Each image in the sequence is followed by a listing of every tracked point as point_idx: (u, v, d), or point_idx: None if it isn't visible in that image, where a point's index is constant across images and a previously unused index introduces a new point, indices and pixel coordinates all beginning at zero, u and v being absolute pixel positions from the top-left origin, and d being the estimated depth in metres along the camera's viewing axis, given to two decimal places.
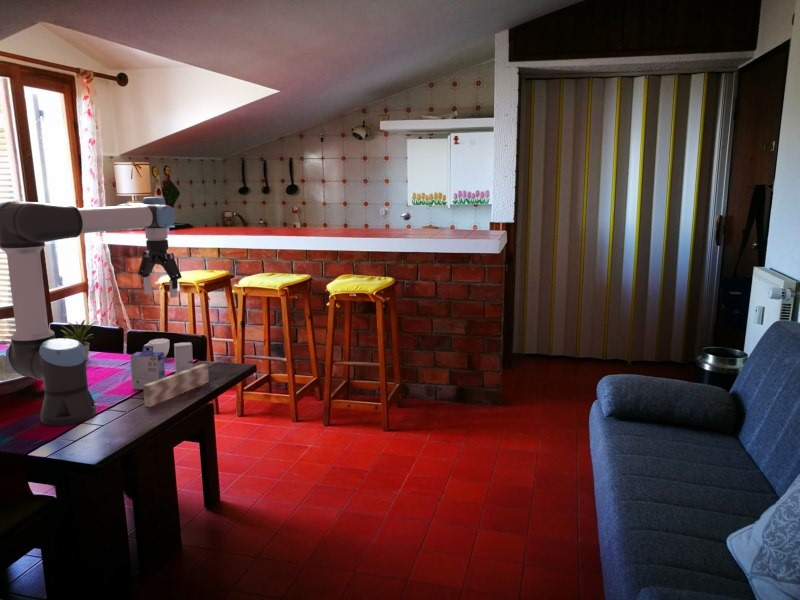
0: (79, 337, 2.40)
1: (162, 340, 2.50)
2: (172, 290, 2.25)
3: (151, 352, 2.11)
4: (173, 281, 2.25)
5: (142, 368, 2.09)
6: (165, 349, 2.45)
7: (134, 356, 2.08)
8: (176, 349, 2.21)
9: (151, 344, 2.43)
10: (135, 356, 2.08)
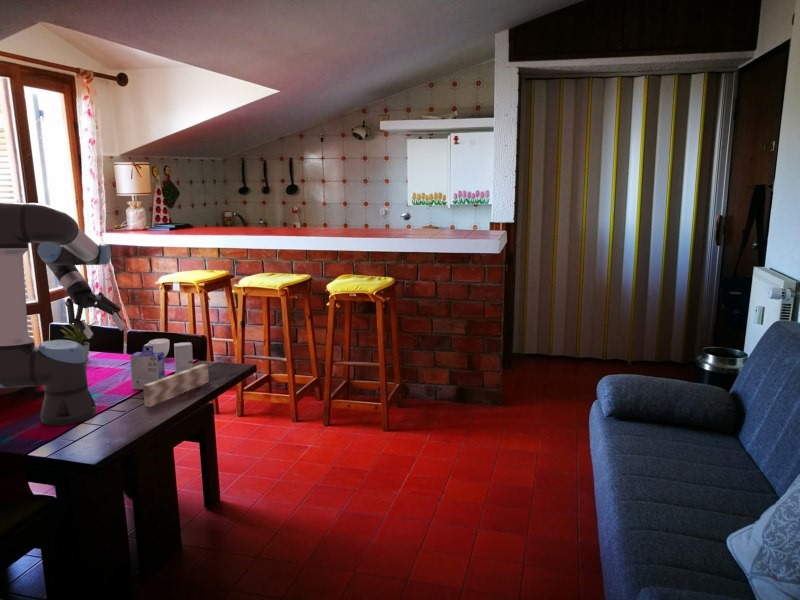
0: (79, 337, 2.40)
1: (162, 340, 2.50)
2: None
3: (151, 352, 2.11)
4: (117, 313, 2.26)
5: (142, 368, 2.09)
6: (165, 349, 2.45)
7: (134, 356, 2.08)
8: (176, 349, 2.21)
9: (151, 344, 2.43)
10: (135, 356, 2.08)
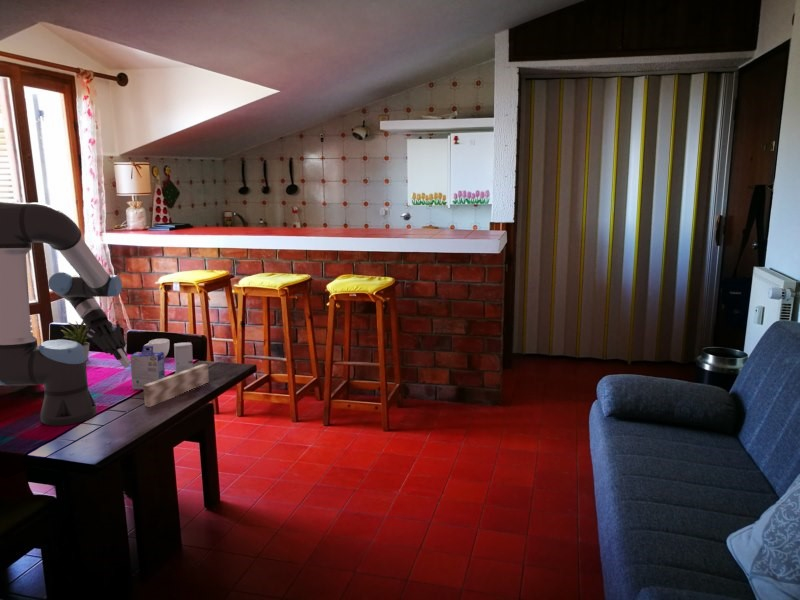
0: (79, 337, 2.40)
1: (162, 340, 2.50)
2: None
3: (151, 352, 2.11)
4: (122, 349, 2.19)
5: (142, 368, 2.09)
6: (165, 349, 2.45)
7: (134, 356, 2.08)
8: (176, 349, 2.21)
9: (151, 344, 2.43)
10: (135, 356, 2.08)
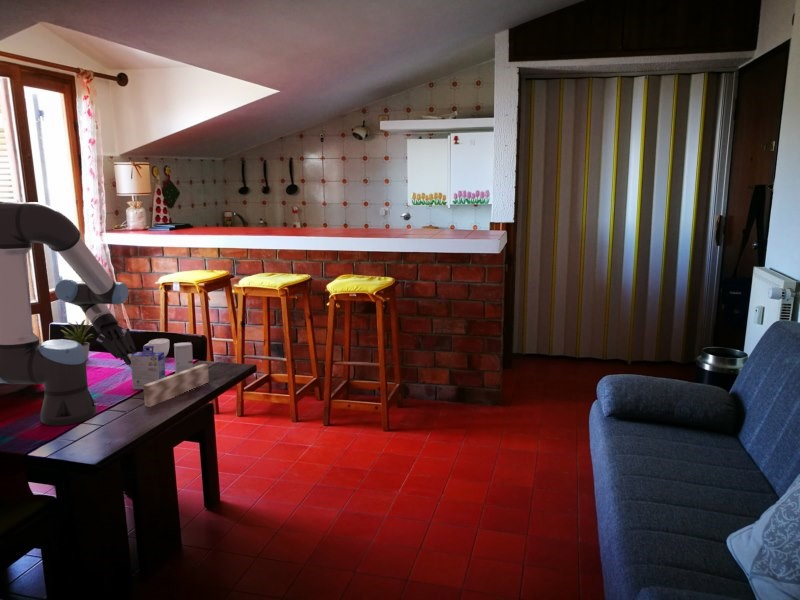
0: (79, 337, 2.40)
1: (162, 340, 2.50)
2: None
3: (151, 352, 2.11)
4: (132, 354, 2.17)
5: (143, 368, 2.09)
6: (165, 349, 2.45)
7: (134, 356, 2.08)
8: (176, 349, 2.21)
9: (151, 344, 2.43)
10: (136, 356, 2.08)
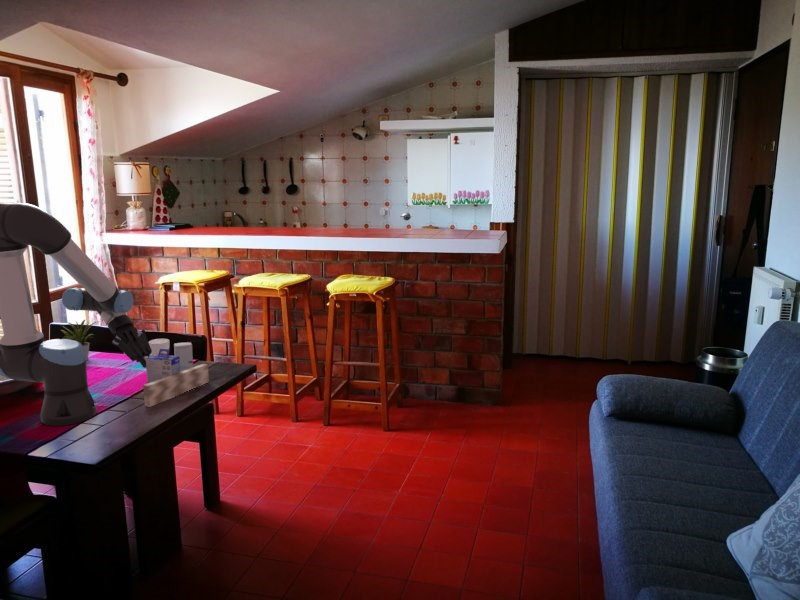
0: (79, 337, 2.40)
1: (162, 340, 2.50)
2: None
3: (167, 355, 2.07)
4: None
5: (157, 371, 2.05)
6: None
7: (149, 359, 2.05)
8: (176, 349, 2.21)
9: (151, 344, 2.43)
10: (150, 359, 2.05)
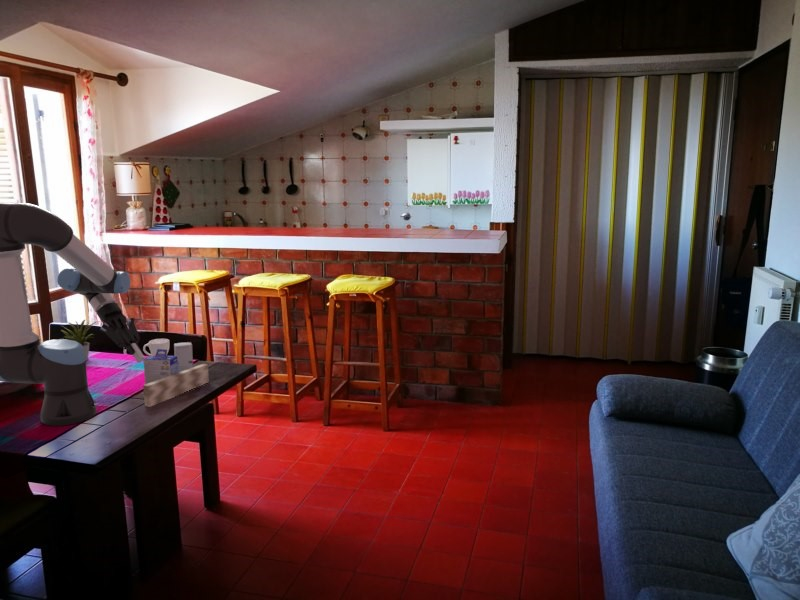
0: (79, 337, 2.40)
1: (162, 340, 2.50)
2: None
3: (164, 356, 2.07)
4: (136, 344, 2.15)
5: (155, 371, 2.05)
6: (165, 349, 2.45)
7: (147, 359, 2.05)
8: (176, 349, 2.21)
9: (151, 344, 2.43)
10: (148, 359, 2.05)
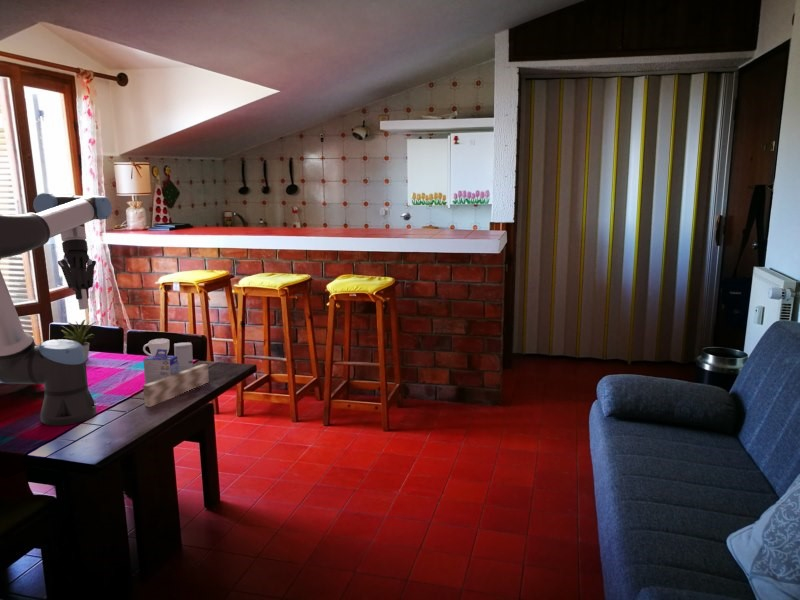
0: (79, 337, 2.40)
1: (162, 340, 2.50)
2: None
3: (164, 356, 2.07)
4: (86, 290, 2.08)
5: (155, 371, 2.05)
6: (165, 349, 2.45)
7: (147, 359, 2.05)
8: (176, 349, 2.21)
9: (151, 344, 2.43)
10: (148, 359, 2.05)
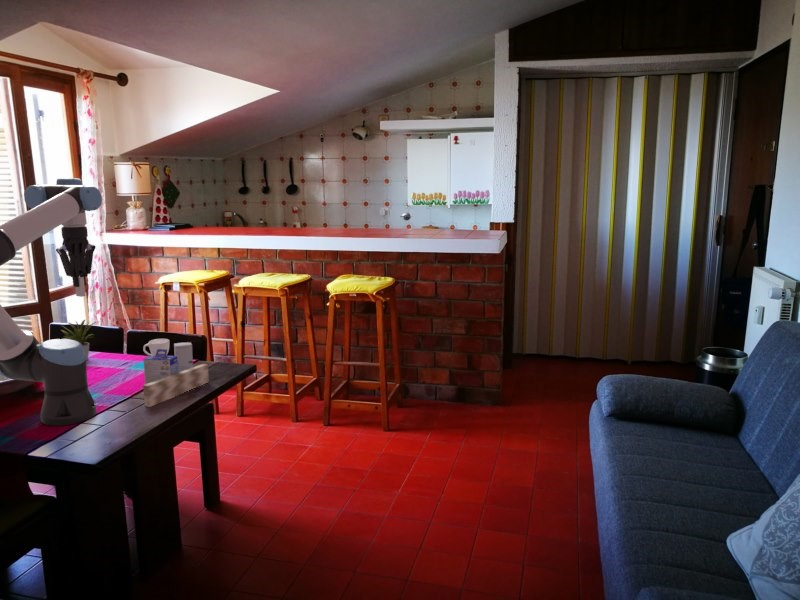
0: (79, 337, 2.40)
1: (162, 340, 2.50)
2: None
3: (164, 356, 2.07)
4: (84, 277, 2.05)
5: (155, 371, 2.05)
6: (165, 349, 2.45)
7: (147, 359, 2.05)
8: (176, 349, 2.21)
9: (151, 344, 2.43)
10: (148, 359, 2.05)
